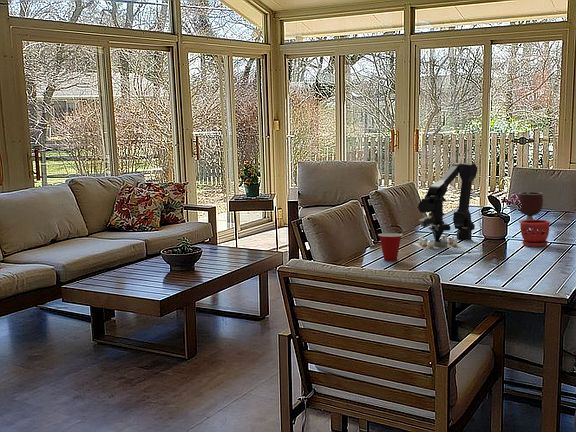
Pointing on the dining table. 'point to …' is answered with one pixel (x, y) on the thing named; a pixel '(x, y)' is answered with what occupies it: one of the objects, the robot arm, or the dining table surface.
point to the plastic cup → (390, 245)
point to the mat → (452, 253)
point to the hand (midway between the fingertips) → (436, 242)
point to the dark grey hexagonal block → (440, 243)
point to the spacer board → (435, 247)
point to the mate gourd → (530, 203)
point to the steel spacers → (431, 242)
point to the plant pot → (534, 232)
